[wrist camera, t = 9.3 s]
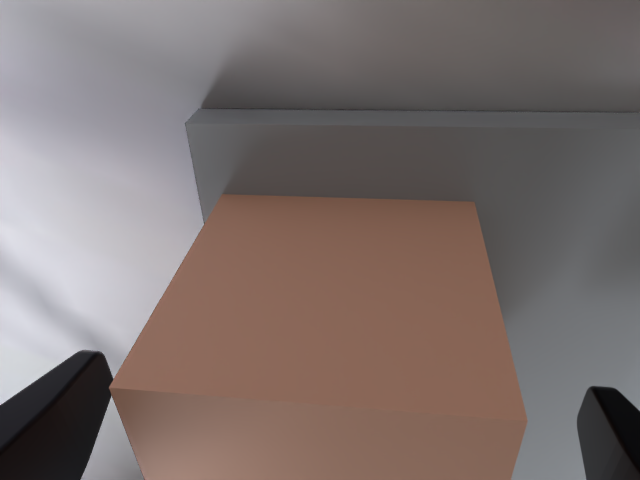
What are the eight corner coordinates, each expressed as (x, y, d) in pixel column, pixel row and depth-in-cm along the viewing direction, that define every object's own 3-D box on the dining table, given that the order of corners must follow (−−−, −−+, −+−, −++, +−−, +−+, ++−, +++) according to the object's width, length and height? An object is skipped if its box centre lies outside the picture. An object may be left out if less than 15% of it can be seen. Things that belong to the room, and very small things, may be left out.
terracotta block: (448, 379, 13) (472, 613, 9) (249, 365, 13) (182, 577, 9) (474, 201, 10) (527, 420, 6) (221, 193, 11) (109, 388, 6)
